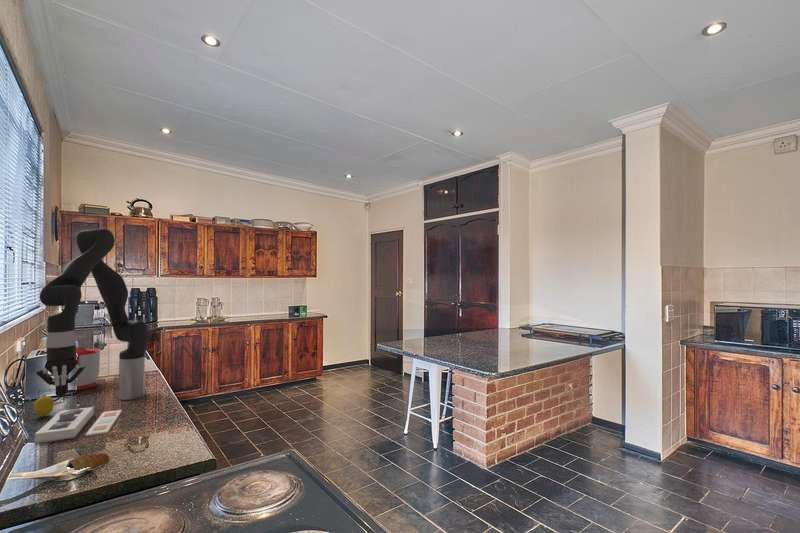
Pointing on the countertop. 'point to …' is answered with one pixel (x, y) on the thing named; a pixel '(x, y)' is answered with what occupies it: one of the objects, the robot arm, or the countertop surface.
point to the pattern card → (104, 423)
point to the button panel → (64, 433)
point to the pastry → (88, 461)
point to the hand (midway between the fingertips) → (61, 396)
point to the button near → (60, 425)
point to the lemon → (43, 405)
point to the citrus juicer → (88, 367)
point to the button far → (77, 411)
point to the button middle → (67, 416)
